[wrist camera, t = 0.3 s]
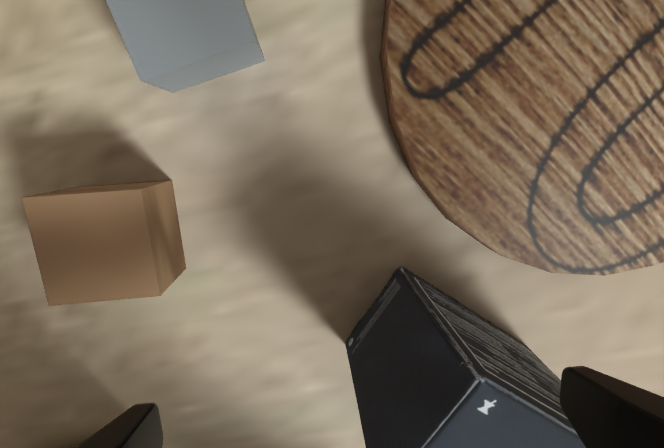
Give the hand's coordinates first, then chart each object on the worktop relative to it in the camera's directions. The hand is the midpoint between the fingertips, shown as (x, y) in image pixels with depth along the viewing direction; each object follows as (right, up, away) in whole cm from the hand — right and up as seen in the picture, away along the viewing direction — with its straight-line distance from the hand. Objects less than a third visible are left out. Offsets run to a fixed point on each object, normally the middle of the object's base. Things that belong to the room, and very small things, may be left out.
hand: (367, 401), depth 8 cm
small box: (+6, -4, +15) cm, 17 cm away
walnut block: (-12, +4, +12) cm, 17 cm away
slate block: (-7, +14, +10) cm, 19 cm away
